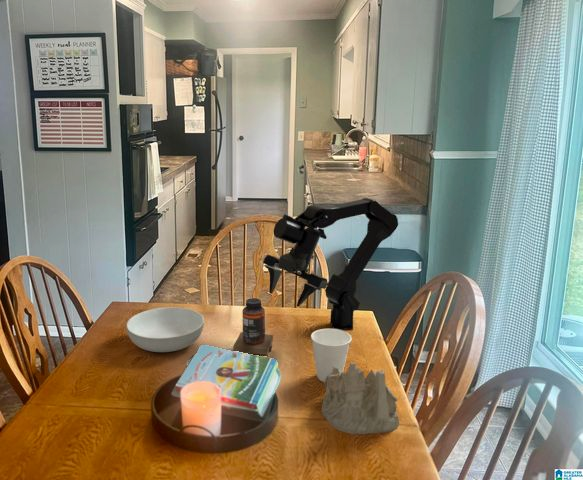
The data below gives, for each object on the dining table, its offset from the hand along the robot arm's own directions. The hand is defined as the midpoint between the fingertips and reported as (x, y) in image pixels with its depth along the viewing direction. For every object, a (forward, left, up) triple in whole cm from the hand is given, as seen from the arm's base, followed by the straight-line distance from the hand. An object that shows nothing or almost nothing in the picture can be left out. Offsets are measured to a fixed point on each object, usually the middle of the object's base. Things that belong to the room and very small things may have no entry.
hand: (283, 299), depth 147 cm
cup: (-15, +20, -12) cm, 27 cm away
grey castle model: (-22, +34, -12) cm, 42 cm away
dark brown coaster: (+6, +11, -12) cm, 17 cm away
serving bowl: (+31, +9, -12) cm, 35 cm away
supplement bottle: (+6, +11, -8) cm, 15 cm away
